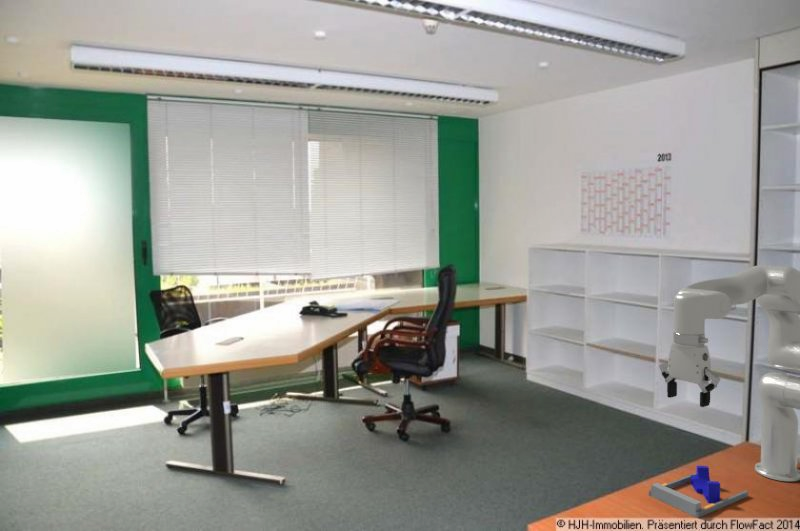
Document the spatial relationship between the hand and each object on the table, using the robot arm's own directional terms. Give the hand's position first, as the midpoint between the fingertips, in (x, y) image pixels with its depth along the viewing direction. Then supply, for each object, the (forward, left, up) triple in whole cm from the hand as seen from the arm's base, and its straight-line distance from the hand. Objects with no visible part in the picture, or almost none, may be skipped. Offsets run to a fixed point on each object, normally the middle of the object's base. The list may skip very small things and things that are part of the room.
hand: (687, 401), depth 162 cm
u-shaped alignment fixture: (-11, -4, -31) cm, 33 cm away
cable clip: (-14, -4, -32) cm, 35 cm away
